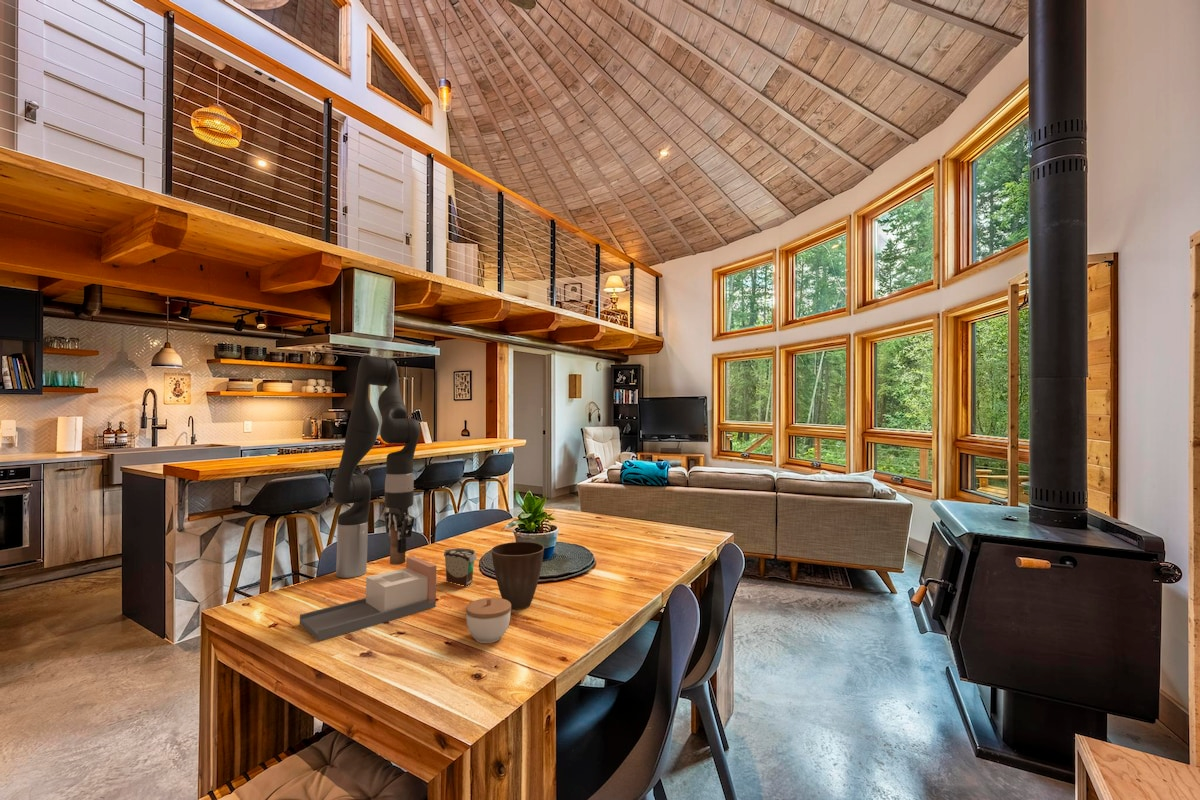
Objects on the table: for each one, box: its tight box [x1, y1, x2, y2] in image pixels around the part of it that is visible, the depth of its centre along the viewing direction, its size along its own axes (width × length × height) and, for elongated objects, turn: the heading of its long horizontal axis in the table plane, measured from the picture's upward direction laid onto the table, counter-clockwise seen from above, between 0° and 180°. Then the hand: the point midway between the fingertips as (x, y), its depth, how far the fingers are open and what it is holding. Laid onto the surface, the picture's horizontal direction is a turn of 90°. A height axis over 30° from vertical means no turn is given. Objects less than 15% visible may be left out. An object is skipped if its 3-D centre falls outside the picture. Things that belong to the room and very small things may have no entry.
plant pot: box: [491, 541, 545, 610], centre depth 142 cm, size 15×15×16 cm
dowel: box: [389, 526, 406, 566], centre depth 139 cm, size 4×4×10 cm
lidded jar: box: [465, 597, 512, 644], centre depth 120 cm, size 11×11×9 cm
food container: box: [443, 547, 477, 586], centre depth 160 cm, size 12×6×10 cm, turn 58°
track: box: [299, 555, 437, 642], centre depth 133 cm, size 14×30×12 cm, turn 137°
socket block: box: [365, 567, 428, 612], centre depth 138 cm, size 12×12×7 cm
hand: (397, 550), depth 138 cm, fingers closed on dowel, 4 cm apart
